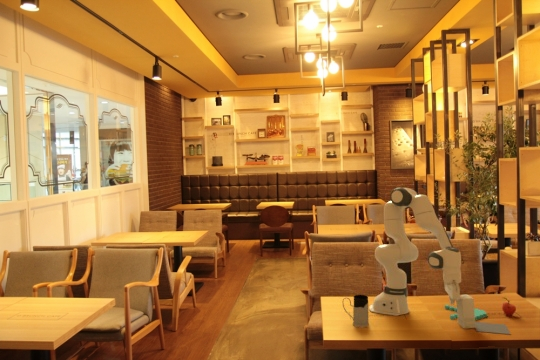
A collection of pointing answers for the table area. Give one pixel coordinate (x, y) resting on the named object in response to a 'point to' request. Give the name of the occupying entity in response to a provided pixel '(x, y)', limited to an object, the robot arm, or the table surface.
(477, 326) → the mat
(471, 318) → the skincare box
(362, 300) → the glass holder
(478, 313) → the alien figure
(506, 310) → the apple
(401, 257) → the robot arm
